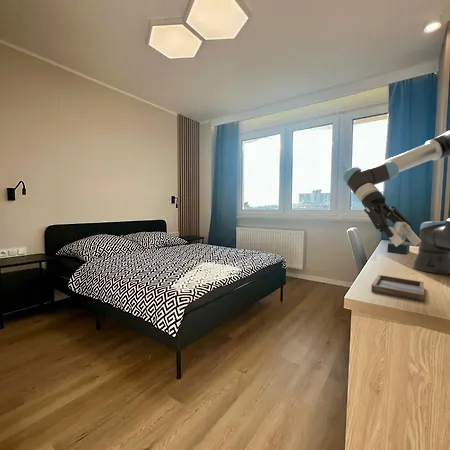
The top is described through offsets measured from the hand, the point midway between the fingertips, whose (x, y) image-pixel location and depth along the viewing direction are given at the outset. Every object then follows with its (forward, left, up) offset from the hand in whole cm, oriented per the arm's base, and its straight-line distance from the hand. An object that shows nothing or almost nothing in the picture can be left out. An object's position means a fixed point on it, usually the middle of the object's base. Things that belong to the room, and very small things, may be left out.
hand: (408, 243), depth 83 cm
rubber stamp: (+1, -3, -4) cm, 5 cm away
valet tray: (+1, -2, -17) cm, 17 cm away
